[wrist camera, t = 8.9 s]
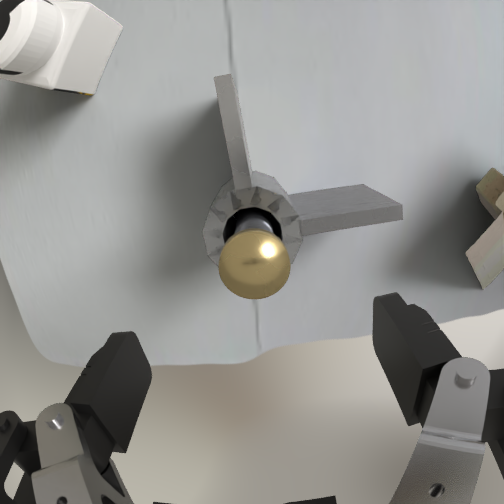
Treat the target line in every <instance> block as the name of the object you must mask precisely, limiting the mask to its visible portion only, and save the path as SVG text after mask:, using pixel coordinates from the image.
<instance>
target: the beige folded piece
mask: <svg viewBox="0 0 504 504" xmlns="http://www.w3.org/2000/svg"><path fill="white" fill-rule="evenodd" d="M476 191H477V193H478V196H479V198H480V201H481V203H482V204H483V206H484V207H485V208H486V209H487V211H488V212H489V213H490V214H491V216H492V217H493V218H494V219H495V221H494V222H493V223H492V224H491V226H490V227H489V228H488V229H487V230H486V231H485V232H484V234H482V235H481V236H480V238H479V239H478V240H477V241H476V242H475V244H473V245H472V246H471V247H470V248H469V249H468V250H467V251H466V252H465V253H466V256H469V257H468V260H469V261H470V264H472V268H473V270H474V271H475V274H476V275H477V278H478V281H480V282H479V283H481V286H482V287H483V288H482V289H484V288H485V287H487V286H488V285H489V284H490V283H491V282H492V281H493V280H494V279H495V278H496V277H497V276H498V275H499V274H500V273H501V272H502V270H503V269H504V176H503V175H502V174H501V173H499V172H498V171H497V170H496V169H495V168H491V169H490V170H489V171H488V173H487V174H486V175H485V176H484V177H483V178H482V180H481V181H480V182H479V183H478V184H477V185H476Z"/></svg>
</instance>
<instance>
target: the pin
mask: <svg viewBox="0 0 504 504" xmlns="http://www.w3.org/2000/svg"><path fill="white" fill-rule="evenodd" d="M219 274H220V277H221V279H222V281H223V283H224V285H225V286H226V287H227V288H228V289H229V290H230V291H231V292H233V293H234V294H236V295H238V296H240V297H243V298H247V299H262V298H266V297H269V296H271V295H273V294H275V293H276V292H278V291H279V290H280V289H281V288H282V287H283V286H284V284H285V283H286V281H287V279H288V277H289V274H290V259H289V255H288V251H287V249H286V247H285V245H284V243H283V242H282V240H281V239H280V238H279V237H278V236H276V235H275V234H274V233H273V228H272V223H271V218H270V213H269V211H266V210H264V209H261V208H258V207H250V208H244V209H239V211H238V217H237V223H236V228H235V234H234V235H233V236H231V237H230V238H229V239H228V240H227V242H226V243H225V245H224V246H223V248H222V251H221V255H220V259H219Z"/></svg>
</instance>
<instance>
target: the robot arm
mask: <svg viewBox="0 0 504 504" xmlns="http://www.w3.org/2000/svg"><path fill="white" fill-rule="evenodd" d="M373 345H374V349H375V353H376V355H377V357H378V359H379V361H380V363H381V366H382V368H383V370H384V372H385V374H386V376H387V378H388V381H389V383H390V385H391V387H392V390H393V392H394V394H395V396H396V398H397V401H398V403H399V406H400V408H401V410H402V412H403V415H404V417H405V419H406V422H407V424H408V426H411V425H414V424H417V423H421V426H422V428H423V430H422V432H421V435H420V437H419V440H418V442H417V445H416V447H415V450H414V452H413V454H412V457H411V459H410V461H409V464H408V466H407V469H406V470H405V473H404V475H403V477H402V479H401V481H400V484H399V485H398V487H397V489H396V491H395V493H394V495H393V497H392V499H391V501H390V503H389V504H470V502H471V499H472V496H473V493H474V490H475V486H476V483H477V480H478V476H479V472H480V468H481V464H482V460H483V456H484V451H485V442H488V444H489V446H490V448H491V451H492V453H493V455H494V457H495V460H496V462H497V464H498V467H499V469H500V471H501V474H502V476H503V479H504V369H497V370H488V369H487V367H486V366H485V365H484V364H483V363H481V362H480V361H478V360H475V359H473V358H467V357H462V356H461V355H460V354H459V352H458V351H457V350H456V348H455V347H454V346H453V344H452V343H451V342H450V340H449V339H448V338H447V337H446V335H445V334H444V333H443V331H441V330H440V328H439V326H438V325H437V324H436V323H435V322H434V320H433V319H432V318H431V316H430V315H429V314H428V313H427V311H426V310H424V309H422V308H420V307H418V306H417V305H415V304H411V305H407V304H406V303H405V301H404V300H403V299H402V298H401V296H400V295H399V294H398V293H391V294H386V295H382V296H377V297H375V298H374V302H373ZM151 379H152V373H151V367H150V364H149V362H148V360H147V358H146V356H145V353H144V351H143V349H142V347H141V345H140V342H139V340H138V338H137V336H136V334H135V333H134V332H132V331H129V332H117V333H112V334H111V335H110V337H109V338H108V340H107V342H106V343H105V345H104V346H103V347H102V348H101V349H99V350H98V351H97V352H96V353H95V354H94V355H93V356H92V357H91V358H90V360H89V362H88V363H87V365H86V368H84V370H83V371H82V373H81V376H79V378H78V380H77V381H76V383H75V385H74V386H73V388H72V390H71V391H70V393H69V395H68V397H67V398H66V400H65V402H64V403H56V404H53V405H51V406H48V407H47V408H45V409H44V410H43V411H42V412H41V413H40V414H39V416H38V418H37V420H36V421H29V422H22V421H21V419H20V418H19V417H18V415H17V414H16V413H15V412H13V411H4V412H2V413H0V504H134V503H133V501H132V500H131V497H130V495H129V494H128V491H127V489H126V488H125V486H124V483H123V481H122V479H121V477H120V475H119V473H118V470H117V468H116V466H115V464H114V462H113V460H112V459H111V458H110V456H111V454H112V452H119V453H126V451H127V448H128V445H129V442H130V440H131V437H132V434H133V431H134V428H135V425H136V422H137V419H138V417H139V414H140V410H141V408H142V405H143V403H144V400H145V397H146V394H147V391H148V389H149V386H150V383H151ZM13 462H15V463H16V464H17V465H18V466H19V467H20V468H21V469H22V470H23V471H24V475H23V477H22V479H21V482H20V484H19V487H18V489H17V492H16V494H15V496H14V499H13V500H12V499H11V498H10V497H9V496H8V495H7V494H6V492H5V489H4V482H5V480H6V477H7V475H8V473H9V471H10V468H11V466H12V464H13ZM153 504H169V503H158V502H153ZM285 504H337V503H336V498H335V496H330V497H324V498H319V499H312V500H305V501H297V502H289V503H285Z"/></svg>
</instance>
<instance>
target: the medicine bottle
mask: <svg viewBox="0 0 504 504" xmlns="http://www.w3.org/2000/svg"><path fill="white" fill-rule="evenodd" d="M122 30H123V26H122V25H121V24H120V23H118V22H117V21H115V20H114V19H113V18H111V17H110V16H108V15H107V14H106V13H104V12H103V11H101V10H100V9H98V8H97V7H96V6H94V5H93V4H91V3H89V2H79V1H62V0H2V1H1V2H0V79H5V80H10V81H14V82H19V83H24V84H28V85H32V86H37V87H41V88H45V89H49V90H56V91H63V92H71V93H77V94H84V95H94V94H95V92H96V89H97V86H98V84H99V81H100V79H101V76H102V74H103V71H104V69H105V67H106V64H107V62H108V60H109V57H110V55H111V53H112V51H113V48H114V46H115V44H116V42H117V40H118V38H119V36H120V34H121V32H122Z"/></svg>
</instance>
